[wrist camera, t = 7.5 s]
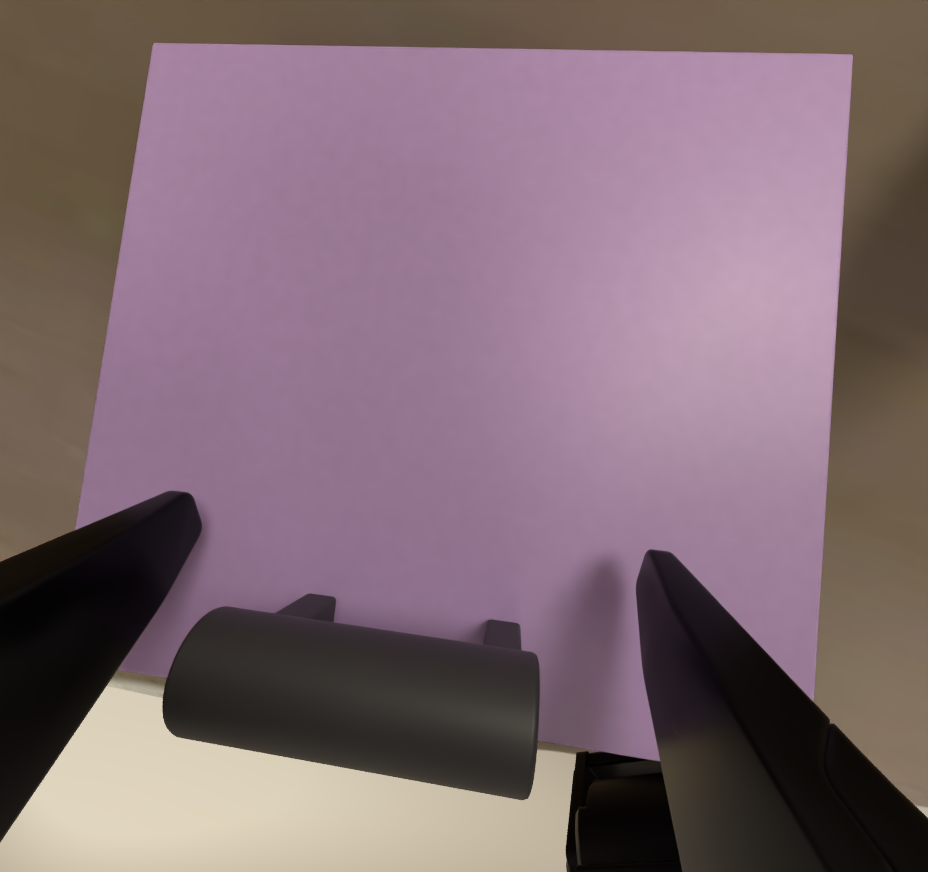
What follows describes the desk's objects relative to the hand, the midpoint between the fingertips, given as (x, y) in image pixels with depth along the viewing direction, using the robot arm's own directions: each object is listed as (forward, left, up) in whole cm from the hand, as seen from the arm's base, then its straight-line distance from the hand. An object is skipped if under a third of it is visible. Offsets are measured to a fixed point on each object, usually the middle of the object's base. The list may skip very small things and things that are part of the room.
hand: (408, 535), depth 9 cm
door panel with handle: (+2, 0, -3) cm, 4 cm away
